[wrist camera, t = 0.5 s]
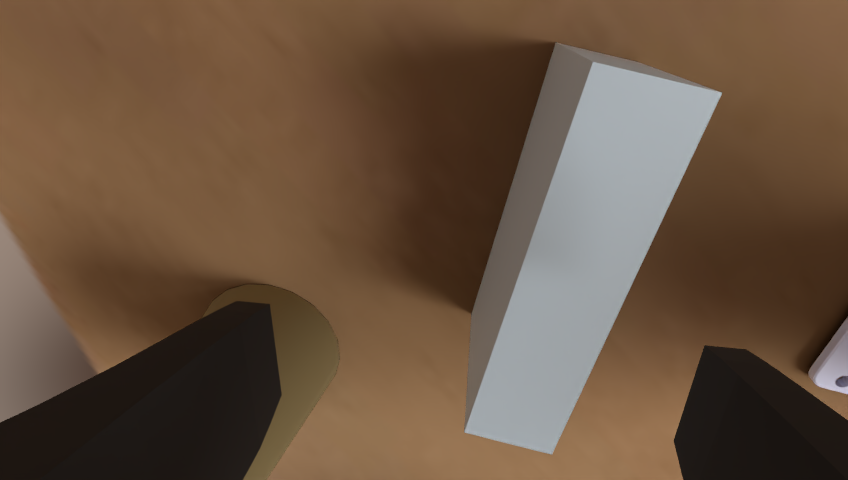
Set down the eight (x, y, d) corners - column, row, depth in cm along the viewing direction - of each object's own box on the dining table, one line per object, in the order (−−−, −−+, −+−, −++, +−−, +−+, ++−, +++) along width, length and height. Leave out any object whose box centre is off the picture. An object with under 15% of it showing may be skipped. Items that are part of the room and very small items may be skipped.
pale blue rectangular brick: (555, 41, 15) (592, 61, 9) (637, 61, 15) (722, 92, 9) (471, 312, 19) (464, 432, 14) (534, 328, 19) (551, 454, 14)
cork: (285, 261, 19) (63, 532, 9) (366, 375, 21) (254, 701, 11) (174, 315, 21) (-111, 590, 11) (258, 415, 23) (79, 726, 13)
